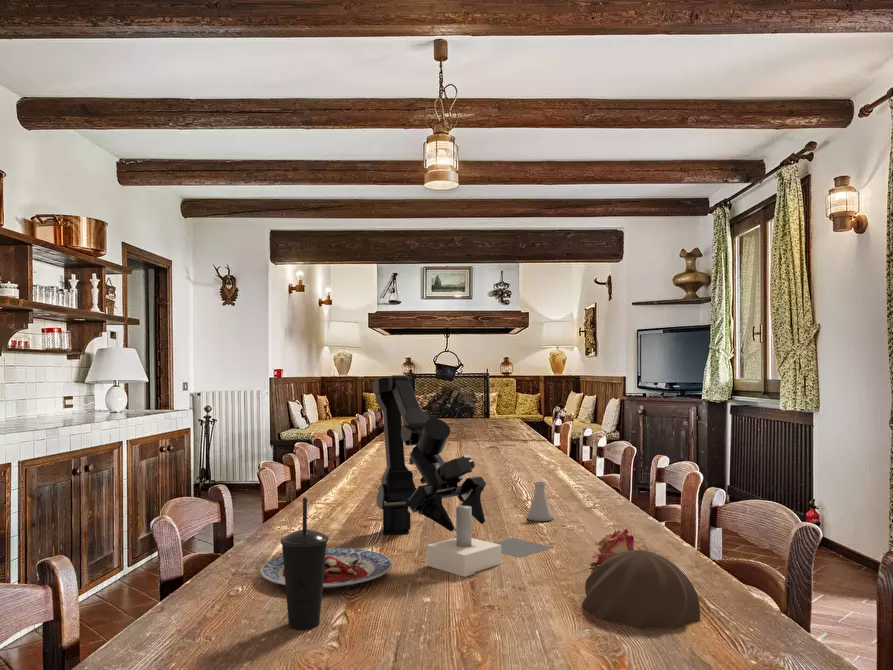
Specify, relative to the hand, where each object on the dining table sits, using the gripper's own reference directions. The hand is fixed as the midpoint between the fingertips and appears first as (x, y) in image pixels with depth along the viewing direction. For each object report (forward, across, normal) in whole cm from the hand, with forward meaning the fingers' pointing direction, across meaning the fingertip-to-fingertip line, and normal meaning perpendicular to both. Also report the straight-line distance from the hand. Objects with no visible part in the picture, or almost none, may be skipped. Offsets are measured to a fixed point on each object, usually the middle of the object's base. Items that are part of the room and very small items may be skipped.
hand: (468, 526), depth 140 cm
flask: (-6, +46, +18) cm, 50 cm away
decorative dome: (+32, +4, -20) cm, 38 cm away
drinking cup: (+8, -42, +4) cm, 42 cm away
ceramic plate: (-5, -24, +18) cm, 30 cm away
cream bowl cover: (+5, 0, +7) cm, 8 cm away
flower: (+21, +21, -9) cm, 31 cm away
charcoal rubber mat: (+4, +18, +7) cm, 20 cm away
